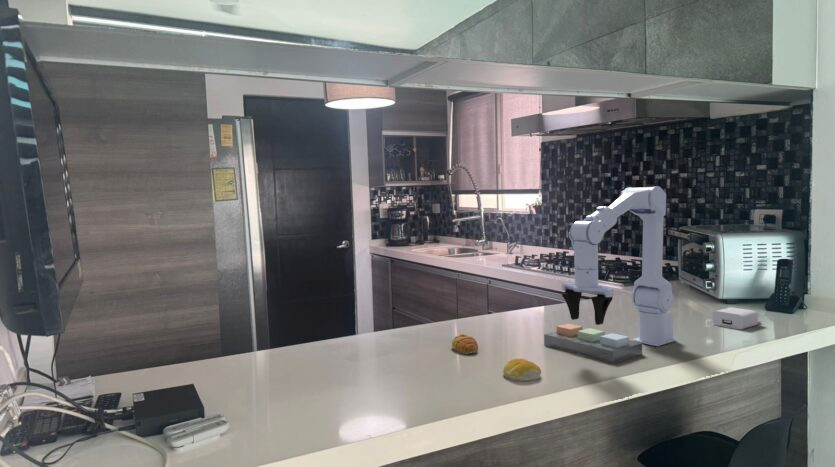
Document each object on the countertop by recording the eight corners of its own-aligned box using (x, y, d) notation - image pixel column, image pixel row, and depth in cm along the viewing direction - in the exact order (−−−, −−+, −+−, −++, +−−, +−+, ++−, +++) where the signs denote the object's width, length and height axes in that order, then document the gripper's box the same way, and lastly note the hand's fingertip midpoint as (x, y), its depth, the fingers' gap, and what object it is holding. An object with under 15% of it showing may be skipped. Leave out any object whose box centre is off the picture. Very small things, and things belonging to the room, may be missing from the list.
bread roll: (525, 368, 137) (525, 353, 137) (546, 379, 129) (546, 362, 128) (496, 373, 134) (495, 357, 134) (515, 384, 126) (515, 367, 126)
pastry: (484, 354, 151) (483, 340, 150) (461, 357, 149) (460, 343, 149) (471, 345, 160) (471, 332, 160) (449, 348, 158) (449, 335, 158)
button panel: (572, 337, 164) (572, 327, 164) (642, 354, 145) (642, 343, 145) (544, 344, 157) (544, 334, 157) (613, 363, 138) (613, 351, 138)
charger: (767, 323, 174) (742, 330, 166) (738, 318, 182) (712, 325, 174) (768, 308, 174) (742, 315, 166) (738, 304, 182) (712, 310, 174)
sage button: (589, 338, 155) (589, 328, 154) (604, 342, 150) (604, 331, 150) (577, 341, 152) (577, 331, 152) (592, 345, 148) (592, 334, 147)
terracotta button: (568, 333, 161) (568, 323, 161) (582, 337, 157) (582, 326, 156) (556, 336, 158) (556, 326, 158) (570, 340, 154) (570, 329, 154)
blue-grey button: (612, 344, 148) (612, 333, 148) (628, 348, 144) (628, 336, 144) (600, 347, 146) (600, 336, 145) (616, 351, 141) (616, 340, 141)
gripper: (553, 267, 144) (554, 319, 144) (599, 272, 131) (600, 329, 132) (571, 264, 147) (572, 315, 148) (618, 269, 135) (618, 324, 136)
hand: (586, 321), depth 141 cm, fingers open, 7 cm apart
